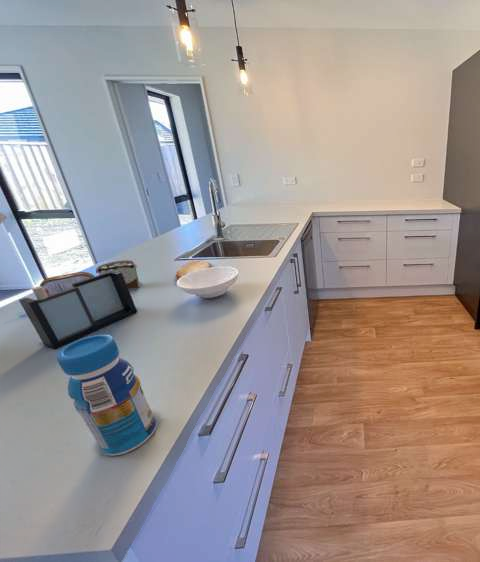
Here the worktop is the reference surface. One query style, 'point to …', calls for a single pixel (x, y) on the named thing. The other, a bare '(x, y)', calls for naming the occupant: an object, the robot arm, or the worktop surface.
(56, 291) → the tin
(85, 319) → the sliding pane
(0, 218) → the robot arm
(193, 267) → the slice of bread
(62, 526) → the worktop surface
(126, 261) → the food container
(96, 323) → the window frame
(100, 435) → the beverage bottle
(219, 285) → the bowl
